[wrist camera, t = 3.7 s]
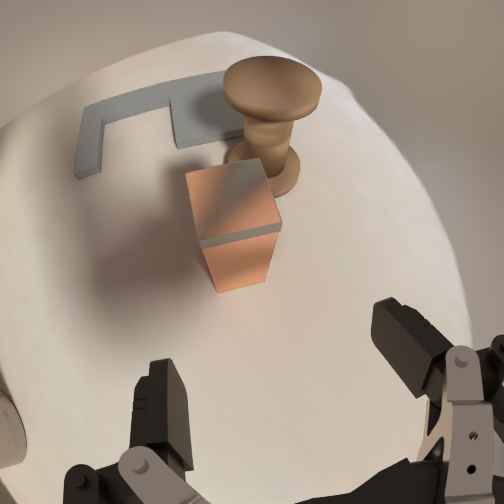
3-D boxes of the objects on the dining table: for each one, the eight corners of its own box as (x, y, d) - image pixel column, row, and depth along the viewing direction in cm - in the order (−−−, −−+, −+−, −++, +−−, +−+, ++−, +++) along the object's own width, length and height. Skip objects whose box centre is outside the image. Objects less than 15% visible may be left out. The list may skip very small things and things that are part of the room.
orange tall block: (217, 294, 24) (198, 241, 13) (206, 248, 25) (184, 172, 15) (265, 282, 24) (282, 222, 14) (252, 238, 26) (259, 157, 15)
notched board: (78, 179, 28) (73, 173, 26) (87, 113, 32) (84, 107, 30) (250, 134, 30) (250, 127, 29) (228, 76, 34) (227, 70, 33)
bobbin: (237, 206, 27) (235, 115, 16) (221, 150, 29) (215, 61, 19) (308, 191, 27) (338, 105, 17) (285, 139, 30) (300, 54, 19)
